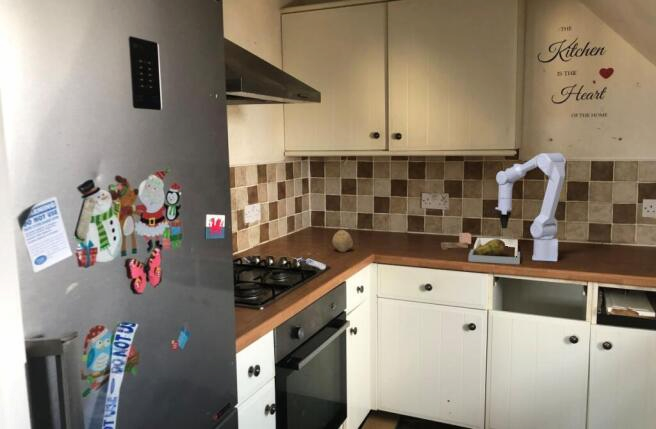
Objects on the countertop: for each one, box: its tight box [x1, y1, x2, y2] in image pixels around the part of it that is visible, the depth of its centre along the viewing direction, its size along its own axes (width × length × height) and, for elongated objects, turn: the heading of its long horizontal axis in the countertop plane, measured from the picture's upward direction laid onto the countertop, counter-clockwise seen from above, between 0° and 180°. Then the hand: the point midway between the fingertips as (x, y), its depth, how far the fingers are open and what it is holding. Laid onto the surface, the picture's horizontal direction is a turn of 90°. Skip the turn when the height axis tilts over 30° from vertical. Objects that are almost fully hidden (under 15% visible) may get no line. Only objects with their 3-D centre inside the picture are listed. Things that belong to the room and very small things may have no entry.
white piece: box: [473, 237, 519, 257], centre depth 248 cm, size 18×22×4 cm
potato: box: [473, 238, 505, 256], centre depth 234 cm, size 8×13×8 cm, turn 74°
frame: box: [468, 248, 521, 265], centre depth 231 cm, size 20×13×2 cm, turn 71°
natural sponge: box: [331, 229, 354, 253], centre depth 249 cm, size 9×9×10 cm
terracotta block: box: [458, 232, 472, 245], centre depth 266 cm, size 4×4×4 cm
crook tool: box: [440, 242, 469, 250], centre depth 255 cm, size 12×6×2 cm, turn 87°
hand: (504, 228), depth 248 cm, fingers closed
